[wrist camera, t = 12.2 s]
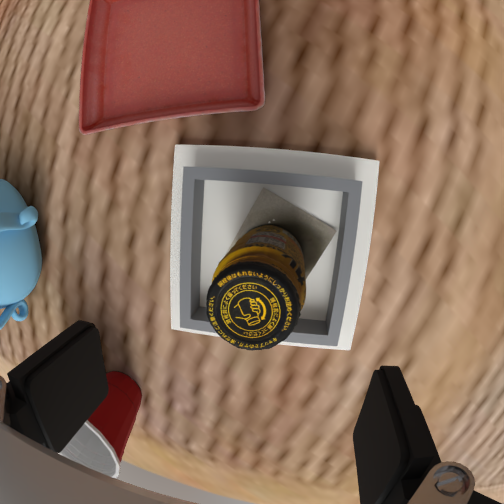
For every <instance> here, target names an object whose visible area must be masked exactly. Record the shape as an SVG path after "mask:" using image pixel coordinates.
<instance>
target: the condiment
mask: <svg viewBox="0 0 504 504" xmlns="http://www.w3.org/2000/svg"><path fill="white" fill-rule="evenodd" d="M273 219H274V221H273ZM269 221H270V223H268V222H269ZM336 232H337V231H336V230H334V229H333V228H331V227H329V226H328V225H326V224H325V223H323V222H321V221H320V220H318V219H317V218H315V217H313V216H312V215H310V214H308V213H306V212H305V211H303V210H302V209H300V208H298V207H297V206H295V205H293V204H291V203H290V202H288V201H286V200H285V199H283V198H281V197H279V196H278V195H276V194H274V193H272V192H271V191H269V190H267V189H265V188H264V187H263V189H262V190H261V192H260V194H259V196H258V197H257V199H256V201H255V203H254V205H253V206H252V208H251V210H250V212H249V213H248V215H247V217H246V219H245V220H244V222H243V224H242V226H241V228H240V229H239V231H238V233H237V235H236V237H235V238H234V240H233V242H232V244H231V246H230V247H229V249H228V251H227V253H226V255H225V256H224V258H223V259H222V260H221V261H220V262H219V264H218V266H217V268H216V270H215V272H214V274H213V278H212V284H211V286H210V287H209V289H208V293H207V298H206V301H207V302H206V306H207V311H206V314H207V317H208V320H209V322H210V324H211V326H212V327H213V329H214V330H215V331H216V333H217V334H218V335H219V336H220V337H221V338H223V339H224V340H226V341H227V342H229V343H230V344H232V345H233V346H236V347H237V348H241V349H247V350H262V349H269V348H272V347H273V346H275V345H277V344H279V343H280V342H282V341H284V340H285V339H287V338H288V336H289V335H290V333H292V331H293V330H294V327H295V326H296V325H297V323H298V318H299V317H300V315H301V314H300V311H301V310H302V308H303V305H304V303H305V299H306V279H307V277H308V275H309V274H310V272H311V271H312V269H313V268H314V267H315V265H316V263H317V262H318V260H319V258H320V257H321V256H322V254H323V252H324V251H325V249H326V247H327V246H328V244H329V243H330V241H331V240H332V238H333V236H334V235H335V233H336Z"/></svg>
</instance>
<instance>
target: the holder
mask: <svg viewBox="0 0 504 504" xmlns="http://www.w3.org/2000/svg"><path fill="white" fill-rule="evenodd" d="M378 172H379V161H377V160H370V159H364V158H356V157H349V156H341V155H333V154H325V153H316V152H306V151H295V150H284V149H272V148H257V147H240V146H217V145H175V153H174V169H173V188H172V212H171V259H170V287H171V329H175V330H181V331H186V332H193V333H199V334H205V335H212V336H219V335H218V334H217V333H216V331H215V330H214V329H213V327H212V326H211V324H210V322H209V320H208V317H207V314H206V311H207V306H206V302H207V301H206V298H207V293H208V289H209V287H210V286H211V284H212V278H213V274H214V272H215V270H216V268H217V266H218V264H219V262H220V261H221V260H222V259H223V258H224V256H225V255H226V253H227V251H228V249H229V247H230V246H231V244H232V242H233V240H234V238H235V237H236V235H237V233H238V231H239V229H240V228H241V226H242V224H243V222H244V220H245V219H246V217H247V215H248V213H249V212H250V210H251V208H252V206H253V205H254V203H255V201H256V199H257V197H258V196H259V194H260V192H261V190H262V189H263V187H264V188H265V189H267V190H269V191H271V192H272V193H274V194H276V195H278V196H279V197H281V198H283V199H285V200H286V201H288V202H290V203H291V204H293V205H295V206H297V207H298V208H300V209H302V210H303V211H305V212H306V213H308V214H310V215H312V216H313V217H315V218H317V219H318V220H320V221H321V222H323V223H325V224H326V225H328V226H329V227H331V228H333V229H334V230H336V231H337V232H336V233H335V235H334V236H333V238H332V240H331V241H330V243H329V244H328V246H327V247H326V249H325V251H324V252H323V254H322V256H321V257H320V258H319V260H318V262H317V263H316V265H315V267H314V268H313V269H312V271H311V272H310V274H309V275H308V277H307V279H306V299H305V303H304V305H303V308H302V310H301V311H300V314H301V315H300V317H299V318H298V323H297V325H296V326H295V327H294V330H293V331H292V333H290V335H289V336H288V338H287V339H285V340H284V341H282V342H280V343H279V344H282V345H292V346H302V347H313V348H325V349H339V350H350V348H351V344H352V340H353V335H354V331H355V326H356V321H357V316H358V312H359V306H360V301H361V296H362V291H363V285H364V280H365V274H366V268H367V262H368V255H369V249H370V242H371V235H372V227H373V219H374V211H375V202H376V193H377V183H378ZM273 221H274V219H273ZM268 223H270V221H269V222H268ZM219 337H220V336H219Z"/></svg>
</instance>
